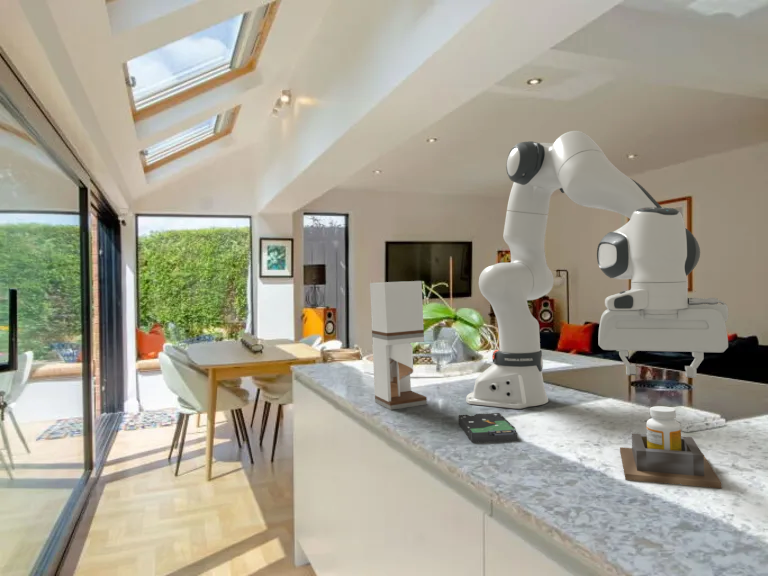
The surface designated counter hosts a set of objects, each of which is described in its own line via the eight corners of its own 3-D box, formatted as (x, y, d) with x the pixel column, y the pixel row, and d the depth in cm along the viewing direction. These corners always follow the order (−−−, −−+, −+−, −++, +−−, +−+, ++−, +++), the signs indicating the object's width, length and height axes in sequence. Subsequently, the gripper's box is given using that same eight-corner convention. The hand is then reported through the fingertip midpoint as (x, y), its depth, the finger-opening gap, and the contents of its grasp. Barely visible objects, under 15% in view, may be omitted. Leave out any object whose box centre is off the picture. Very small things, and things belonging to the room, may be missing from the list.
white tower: (390, 409, 141) (384, 282, 140) (375, 402, 150) (369, 283, 150) (426, 404, 145) (421, 280, 145) (409, 396, 155) (404, 281, 154)
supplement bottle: (678, 458, 93) (676, 405, 93) (685, 469, 88) (683, 413, 88) (645, 456, 95) (643, 404, 95) (650, 467, 90) (648, 411, 90)
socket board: (625, 479, 87) (624, 453, 87) (620, 452, 100) (619, 429, 100) (721, 488, 82) (720, 460, 82) (702, 458, 95) (702, 434, 95)
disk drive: (457, 426, 125) (471, 445, 110) (457, 414, 125) (471, 432, 110) (499, 423, 125) (519, 441, 111) (499, 412, 125) (518, 429, 111)
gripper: (723, 296, 90) (724, 374, 90) (597, 298, 97) (598, 370, 98) (732, 298, 84) (733, 382, 84) (597, 300, 92) (599, 377, 92)
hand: (660, 375), depth 91 cm, fingers open, 8 cm apart
